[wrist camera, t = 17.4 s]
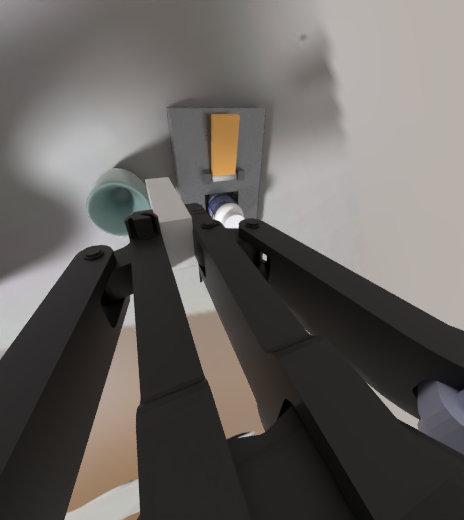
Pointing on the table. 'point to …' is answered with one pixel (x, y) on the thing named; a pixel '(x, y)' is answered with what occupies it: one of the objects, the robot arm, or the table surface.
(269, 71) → the table surface
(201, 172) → the hitch plate
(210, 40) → the table surface
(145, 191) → the cup
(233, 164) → the lever
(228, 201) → the pill bottle
